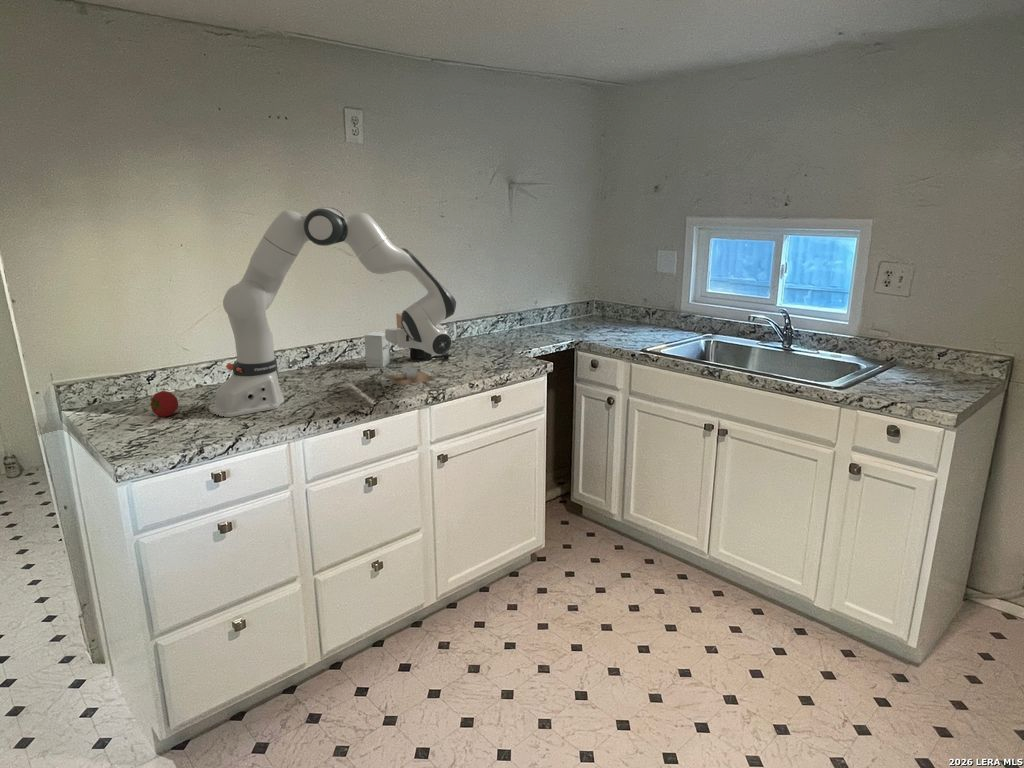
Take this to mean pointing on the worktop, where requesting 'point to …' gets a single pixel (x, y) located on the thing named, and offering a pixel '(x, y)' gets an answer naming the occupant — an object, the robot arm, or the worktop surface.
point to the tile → (402, 381)
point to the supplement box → (376, 349)
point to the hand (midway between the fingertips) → (406, 328)
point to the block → (409, 372)
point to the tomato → (164, 404)
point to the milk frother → (425, 355)
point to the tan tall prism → (399, 320)
